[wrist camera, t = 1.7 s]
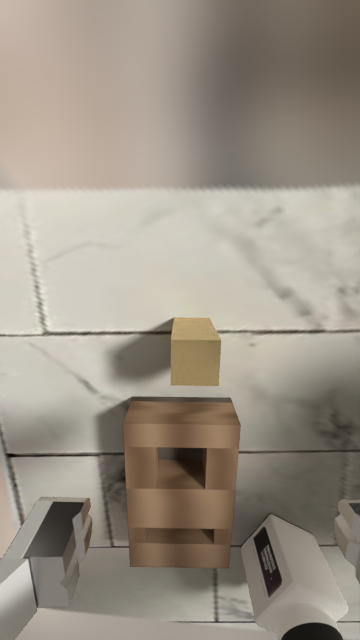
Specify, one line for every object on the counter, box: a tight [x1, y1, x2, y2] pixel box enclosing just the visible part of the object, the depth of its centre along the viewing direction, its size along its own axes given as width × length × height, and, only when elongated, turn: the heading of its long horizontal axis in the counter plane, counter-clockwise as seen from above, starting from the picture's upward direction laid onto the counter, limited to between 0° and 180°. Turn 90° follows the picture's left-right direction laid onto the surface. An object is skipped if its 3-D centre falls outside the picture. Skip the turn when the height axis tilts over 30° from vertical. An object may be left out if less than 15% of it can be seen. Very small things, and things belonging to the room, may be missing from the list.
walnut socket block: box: [123, 397, 241, 568], centre depth 29 cm, size 12×20×5 cm, turn 179°
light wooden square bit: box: [171, 318, 221, 386], centre depth 23 cm, size 4×4×8 cm
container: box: [241, 514, 348, 640], centre depth 28 cm, size 8×8×13 cm
